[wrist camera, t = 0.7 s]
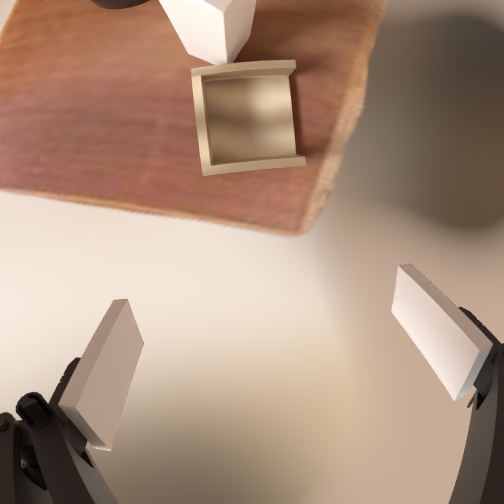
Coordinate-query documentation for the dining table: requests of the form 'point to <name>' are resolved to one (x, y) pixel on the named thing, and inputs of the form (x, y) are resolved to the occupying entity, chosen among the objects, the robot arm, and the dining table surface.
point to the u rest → (245, 116)
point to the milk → (212, 26)
